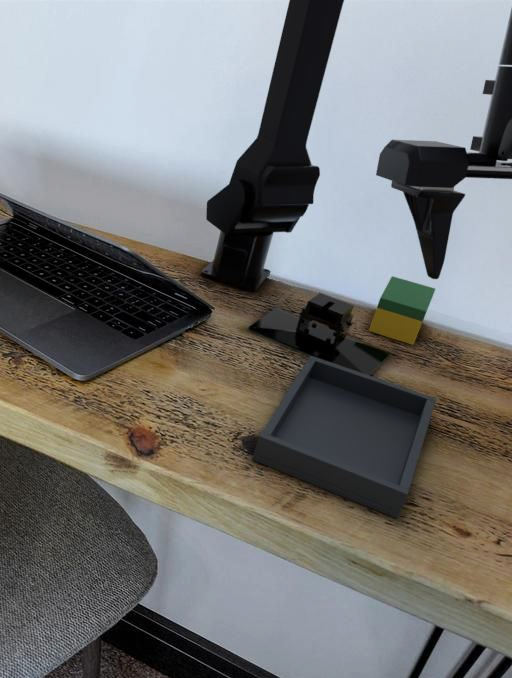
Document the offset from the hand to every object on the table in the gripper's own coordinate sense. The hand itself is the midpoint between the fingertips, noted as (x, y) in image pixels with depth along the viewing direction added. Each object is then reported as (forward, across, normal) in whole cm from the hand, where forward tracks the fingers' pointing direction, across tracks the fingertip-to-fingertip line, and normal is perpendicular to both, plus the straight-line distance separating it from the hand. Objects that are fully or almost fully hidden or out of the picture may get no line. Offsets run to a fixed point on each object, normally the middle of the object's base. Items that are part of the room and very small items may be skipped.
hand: (492, 280), depth 63 cm
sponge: (+11, +4, +23) cm, 26 cm away
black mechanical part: (+12, -6, +17) cm, 22 cm away
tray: (+14, -9, 0) cm, 17 cm away
